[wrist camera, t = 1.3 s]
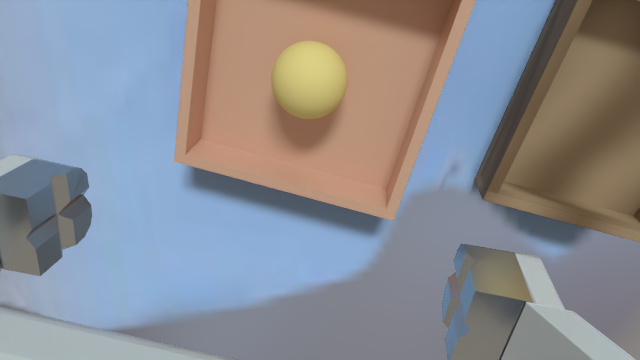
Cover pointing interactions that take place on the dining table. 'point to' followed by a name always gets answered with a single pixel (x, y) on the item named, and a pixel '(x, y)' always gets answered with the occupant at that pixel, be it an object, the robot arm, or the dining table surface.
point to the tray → (575, 122)
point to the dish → (330, 130)
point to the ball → (309, 79)
